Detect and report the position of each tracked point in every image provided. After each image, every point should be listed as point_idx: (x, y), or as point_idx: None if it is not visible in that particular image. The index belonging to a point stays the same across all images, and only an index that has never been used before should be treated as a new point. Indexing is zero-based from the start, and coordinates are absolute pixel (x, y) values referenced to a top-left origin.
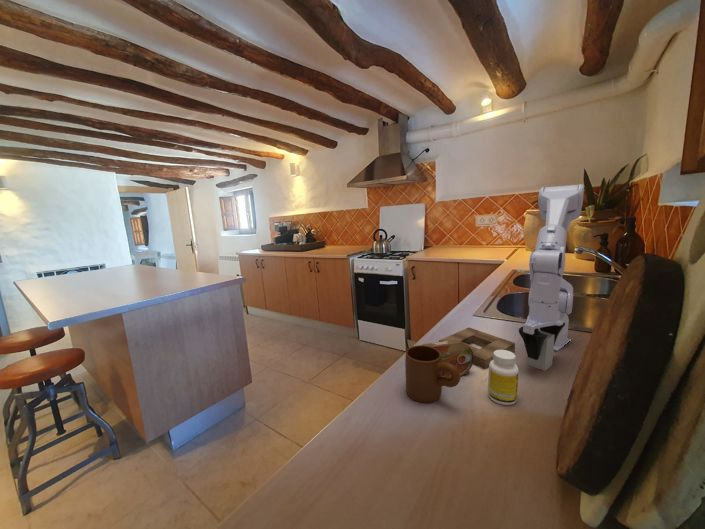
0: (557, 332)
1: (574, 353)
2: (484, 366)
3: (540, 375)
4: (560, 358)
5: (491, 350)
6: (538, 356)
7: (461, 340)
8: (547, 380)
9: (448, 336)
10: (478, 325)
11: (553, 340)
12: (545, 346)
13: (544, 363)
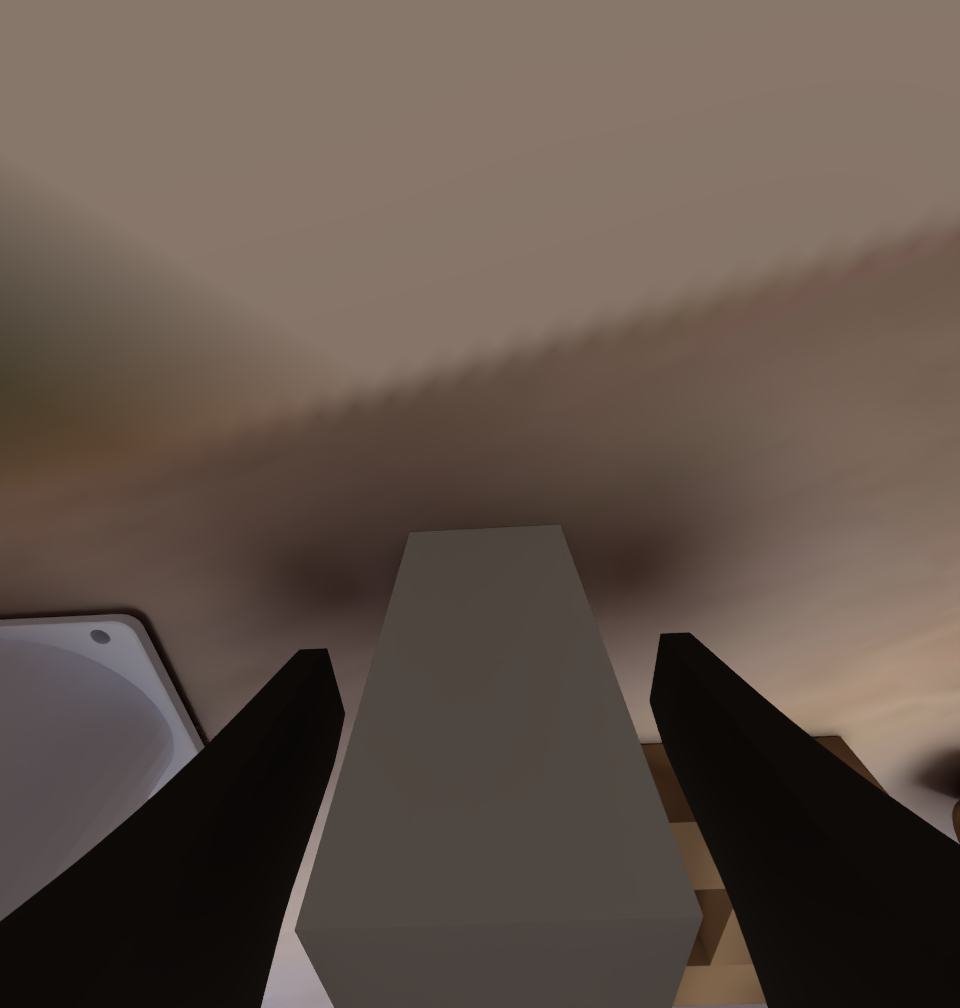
0: (126, 949)
1: (6, 515)
2: (853, 759)
3: (663, 510)
4: (225, 544)
5: (706, 851)
6: (708, 660)
7: (692, 966)
8: (710, 441)
9: (691, 1004)
10: (303, 960)
11: (368, 788)
12: (640, 752)
13: (572, 569)
